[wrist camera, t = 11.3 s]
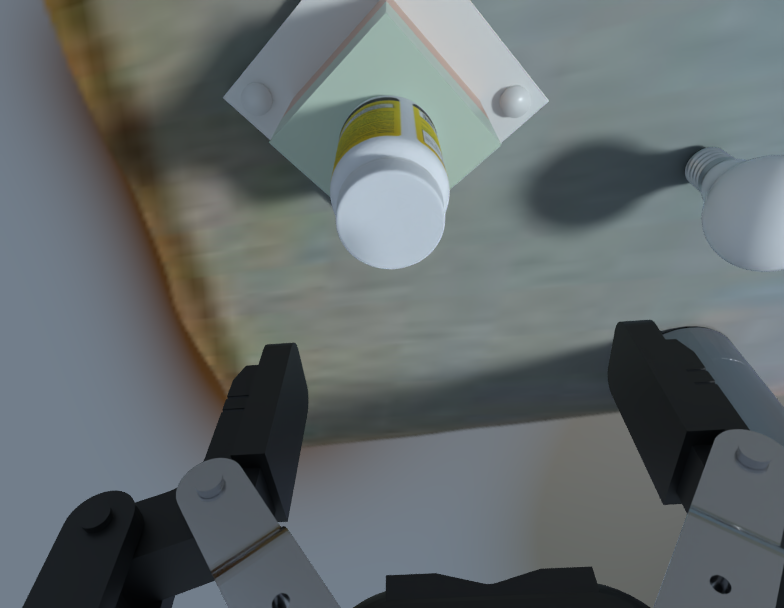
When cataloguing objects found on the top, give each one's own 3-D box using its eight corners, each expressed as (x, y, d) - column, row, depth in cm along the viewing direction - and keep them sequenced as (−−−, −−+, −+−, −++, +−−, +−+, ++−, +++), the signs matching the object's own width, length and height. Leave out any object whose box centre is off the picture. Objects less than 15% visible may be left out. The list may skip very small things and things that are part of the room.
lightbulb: (751, 188, 37) (866, 272, 28) (657, 218, 39) (737, 307, 30) (751, 99, 34) (880, 163, 25) (647, 136, 35) (735, 209, 26)
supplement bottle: (327, 170, 27) (306, 255, 20) (358, 76, 24) (346, 137, 18) (415, 202, 28) (425, 293, 21) (454, 115, 26) (478, 187, 19)
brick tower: (544, 95, 34) (588, 145, 26) (385, 235, 39) (384, 309, 32) (387, -105, 28) (386, -114, 21) (227, 92, 34) (180, 141, 26)
